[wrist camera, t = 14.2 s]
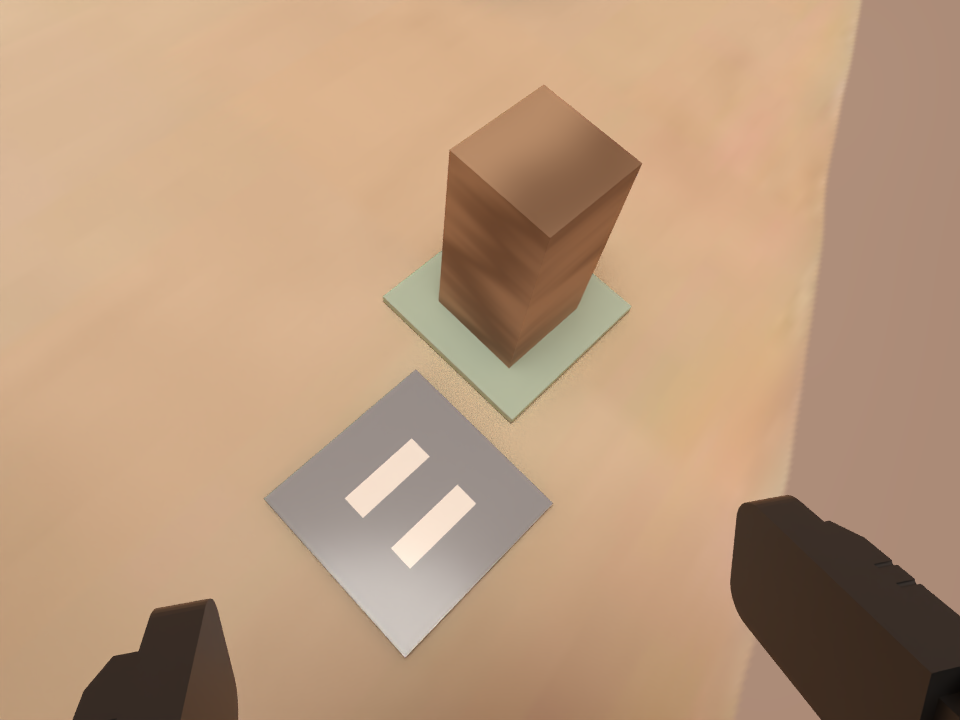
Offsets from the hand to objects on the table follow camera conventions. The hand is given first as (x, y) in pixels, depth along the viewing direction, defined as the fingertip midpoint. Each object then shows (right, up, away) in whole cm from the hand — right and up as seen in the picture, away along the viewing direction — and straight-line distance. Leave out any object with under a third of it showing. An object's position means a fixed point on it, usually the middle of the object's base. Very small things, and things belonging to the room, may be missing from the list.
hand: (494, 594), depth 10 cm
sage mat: (+1, +6, +25) cm, 26 cm away
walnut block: (+1, +6, +25) cm, 25 cm away
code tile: (-3, -3, +20) cm, 21 cm away
